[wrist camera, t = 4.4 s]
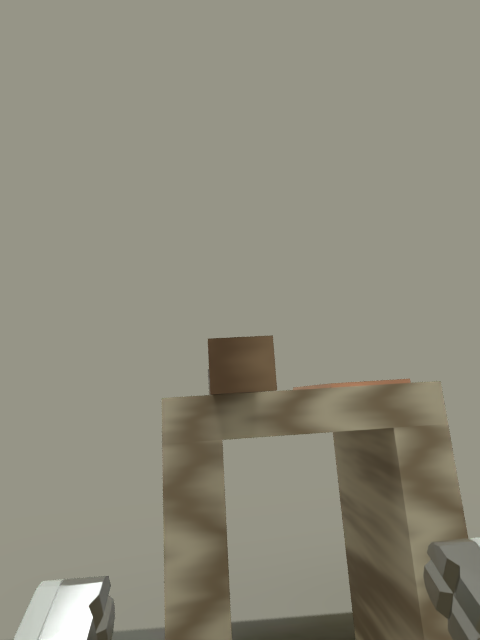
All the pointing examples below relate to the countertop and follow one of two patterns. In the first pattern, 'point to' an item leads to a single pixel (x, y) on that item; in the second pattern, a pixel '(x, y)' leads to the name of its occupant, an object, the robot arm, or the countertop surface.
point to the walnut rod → (241, 365)
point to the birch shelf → (355, 495)
